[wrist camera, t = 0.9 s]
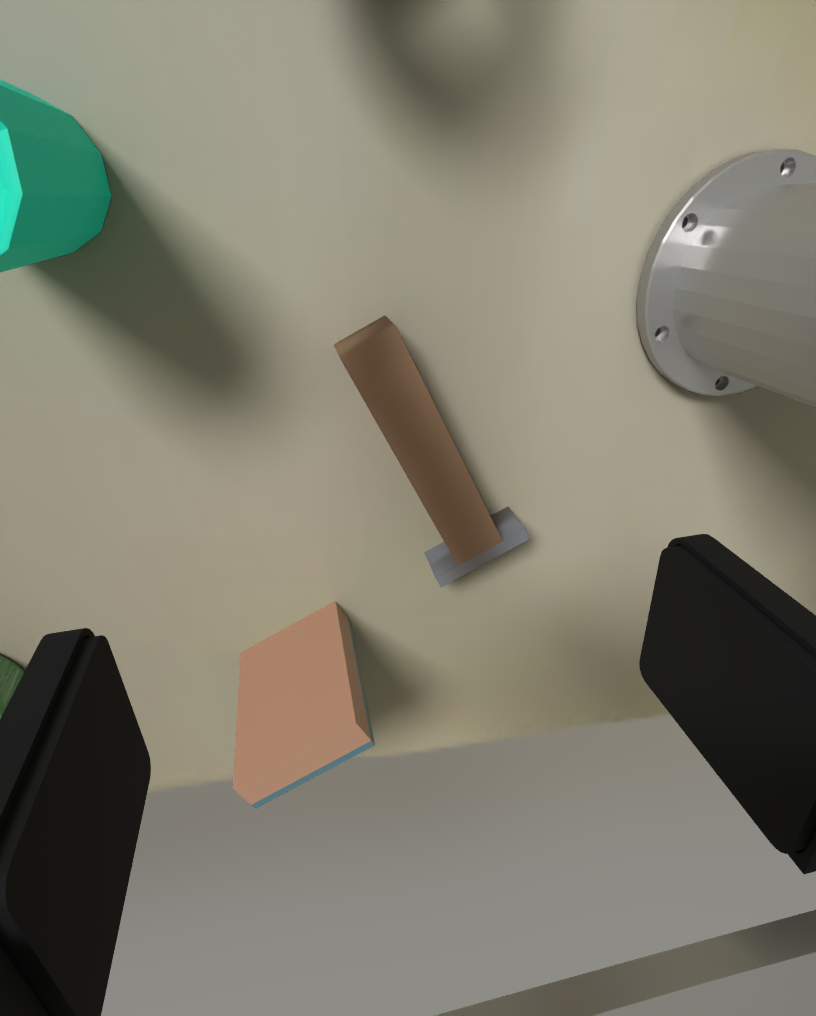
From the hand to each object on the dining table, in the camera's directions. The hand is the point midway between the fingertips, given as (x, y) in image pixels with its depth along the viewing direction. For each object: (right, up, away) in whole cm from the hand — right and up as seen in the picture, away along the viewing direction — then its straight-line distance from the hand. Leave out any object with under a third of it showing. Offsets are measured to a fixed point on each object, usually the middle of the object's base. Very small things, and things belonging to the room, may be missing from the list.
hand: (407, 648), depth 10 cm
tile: (-7, -6, +28) cm, 30 cm away
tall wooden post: (+1, +6, +24) cm, 24 cm away
